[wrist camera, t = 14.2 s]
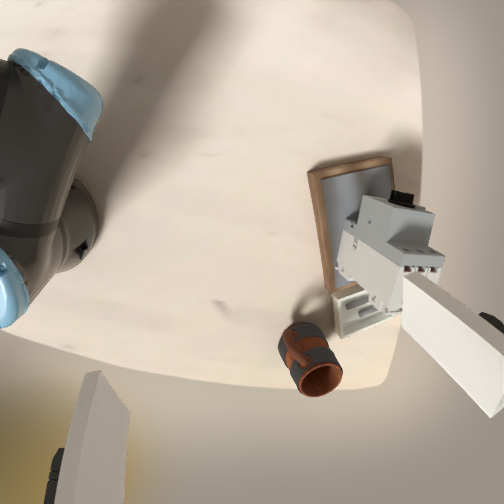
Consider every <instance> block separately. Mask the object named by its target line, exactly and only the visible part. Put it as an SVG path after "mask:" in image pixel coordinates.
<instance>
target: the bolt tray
mask: <svg viewBox="0 0 504 504" xmlns="http://www.w3.org/2000/svg"><path fill="white" fill-rule="evenodd" d="M369 296H370V294H369V293H368V292H367V291H366V290H365V289H364V288H363V287H361V286H360V285H359V284H357V285H355V286H352V287H349V288H346V289H343V290H340V291H338V292H335V293H332V303H333V313H334V323H335V332H336V333H337V335H338V336H339V337H340V339H344V338H346V337H349V336H351V335H354V334H356V333H359V332H361V331H364V330H366V329H369V328H371V327H374V326H376V325H378V324H381V323H383V322H385V321H388V320H390V319H392V318H395V314H393V315H385V314H384V312H383V311H381V310H377V309H376V308H375V307H374V306H373V305H372V304H371V303H370V302H369V301H368V299H369Z"/></svg>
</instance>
